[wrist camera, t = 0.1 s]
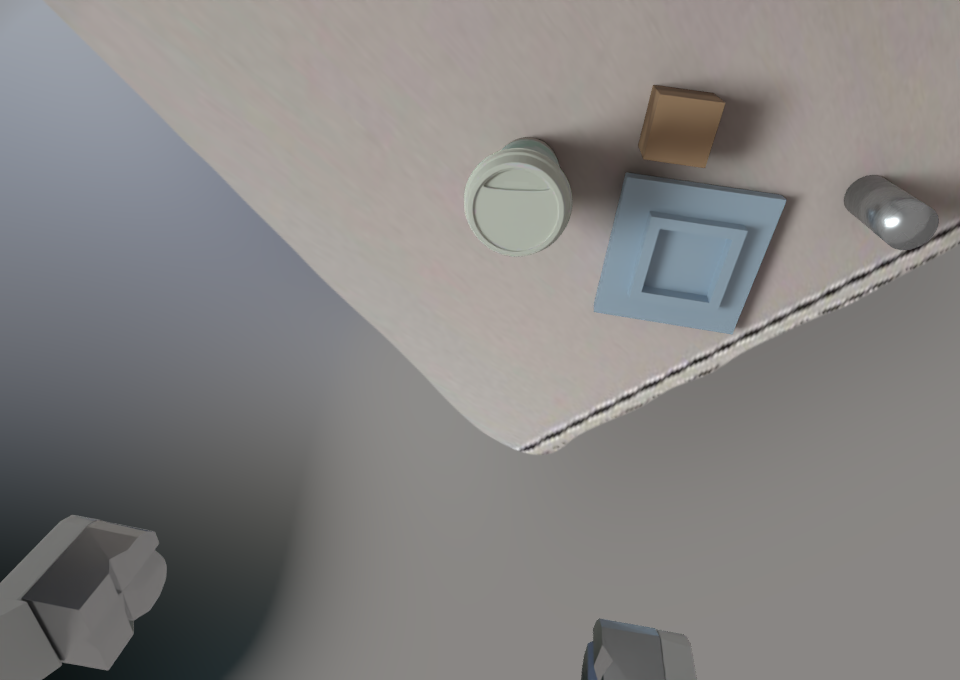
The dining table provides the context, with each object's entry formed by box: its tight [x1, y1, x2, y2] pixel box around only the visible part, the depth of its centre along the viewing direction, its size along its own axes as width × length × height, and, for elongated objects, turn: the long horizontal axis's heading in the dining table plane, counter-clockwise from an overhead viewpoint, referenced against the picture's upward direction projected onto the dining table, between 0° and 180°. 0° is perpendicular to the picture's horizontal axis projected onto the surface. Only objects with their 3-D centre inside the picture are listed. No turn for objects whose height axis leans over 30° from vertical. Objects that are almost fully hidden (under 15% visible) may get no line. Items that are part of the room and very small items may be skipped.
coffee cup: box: [464, 137, 572, 257], centre depth 48 cm, size 8×9×12 cm
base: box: [594, 172, 787, 334], centre depth 54 cm, size 14×14×3 cm
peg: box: [844, 175, 939, 250], centre depth 47 cm, size 4×4×8 cm
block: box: [638, 85, 725, 168], centre depth 47 cm, size 5×5×5 cm
